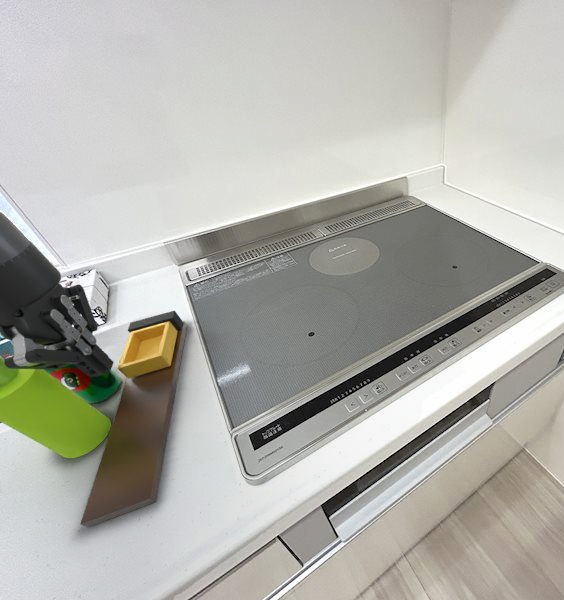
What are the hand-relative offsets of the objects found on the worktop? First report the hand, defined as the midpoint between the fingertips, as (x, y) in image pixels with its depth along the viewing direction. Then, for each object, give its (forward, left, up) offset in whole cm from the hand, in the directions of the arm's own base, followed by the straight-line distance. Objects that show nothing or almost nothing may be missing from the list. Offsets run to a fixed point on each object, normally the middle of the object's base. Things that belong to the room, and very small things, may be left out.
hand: (103, 370), depth 42 cm
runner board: (+1, +1, -9) cm, 9 cm away
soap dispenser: (-5, +6, -9) cm, 12 cm away
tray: (+9, +5, -8) cm, 12 cm away
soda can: (+2, +10, -9) cm, 14 cm away
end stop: (+13, +8, -8) cm, 17 cm away
